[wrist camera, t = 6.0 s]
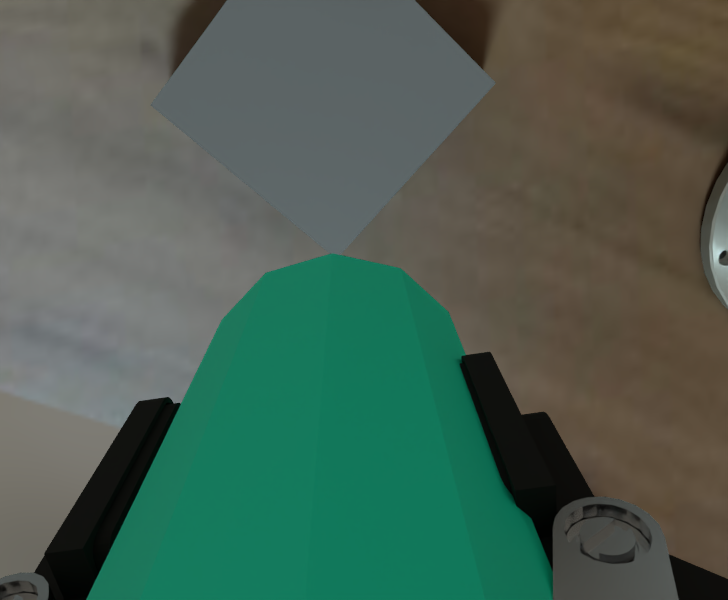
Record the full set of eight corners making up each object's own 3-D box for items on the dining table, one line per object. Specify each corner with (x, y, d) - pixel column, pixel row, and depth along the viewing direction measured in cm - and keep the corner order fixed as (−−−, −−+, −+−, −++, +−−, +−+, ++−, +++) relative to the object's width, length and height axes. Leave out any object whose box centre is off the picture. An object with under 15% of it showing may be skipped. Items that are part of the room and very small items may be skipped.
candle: (195, 258, 13) (-600, 1292, 2) (468, 248, 13) (1082, 1203, 2) (225, 481, 15) (-87, 1565, 4) (459, 472, 16) (744, 1516, 4)
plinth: (480, 80, 28) (495, 82, 25) (337, 240, 30) (336, 258, 27) (311, -91, 25) (307, -110, 22) (170, 100, 28) (150, 105, 25)
